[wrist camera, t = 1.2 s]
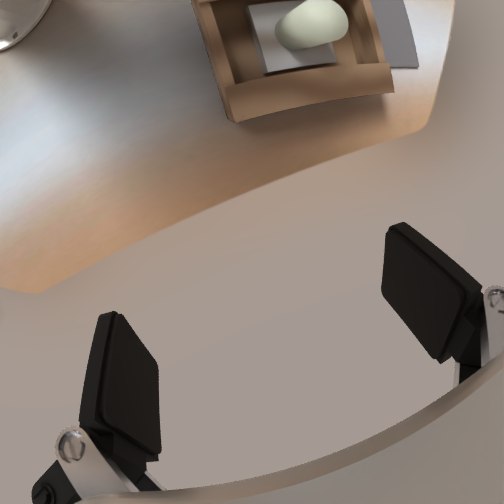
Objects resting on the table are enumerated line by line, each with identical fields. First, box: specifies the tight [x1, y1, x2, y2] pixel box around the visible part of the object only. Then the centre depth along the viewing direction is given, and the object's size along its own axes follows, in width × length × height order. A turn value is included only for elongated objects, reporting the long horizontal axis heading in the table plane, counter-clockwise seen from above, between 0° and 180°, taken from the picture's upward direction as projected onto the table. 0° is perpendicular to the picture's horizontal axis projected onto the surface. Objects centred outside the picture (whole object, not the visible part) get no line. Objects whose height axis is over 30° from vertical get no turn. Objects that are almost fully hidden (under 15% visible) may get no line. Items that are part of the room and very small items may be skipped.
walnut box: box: [191, 0, 395, 123], centre depth 22 cm, size 16×18×6 cm
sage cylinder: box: [275, 0, 348, 51], centre depth 19 cm, size 4×4×7 cm
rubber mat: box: [370, 0, 419, 67], centre depth 24 cm, size 12×8×1 cm, turn 15°
